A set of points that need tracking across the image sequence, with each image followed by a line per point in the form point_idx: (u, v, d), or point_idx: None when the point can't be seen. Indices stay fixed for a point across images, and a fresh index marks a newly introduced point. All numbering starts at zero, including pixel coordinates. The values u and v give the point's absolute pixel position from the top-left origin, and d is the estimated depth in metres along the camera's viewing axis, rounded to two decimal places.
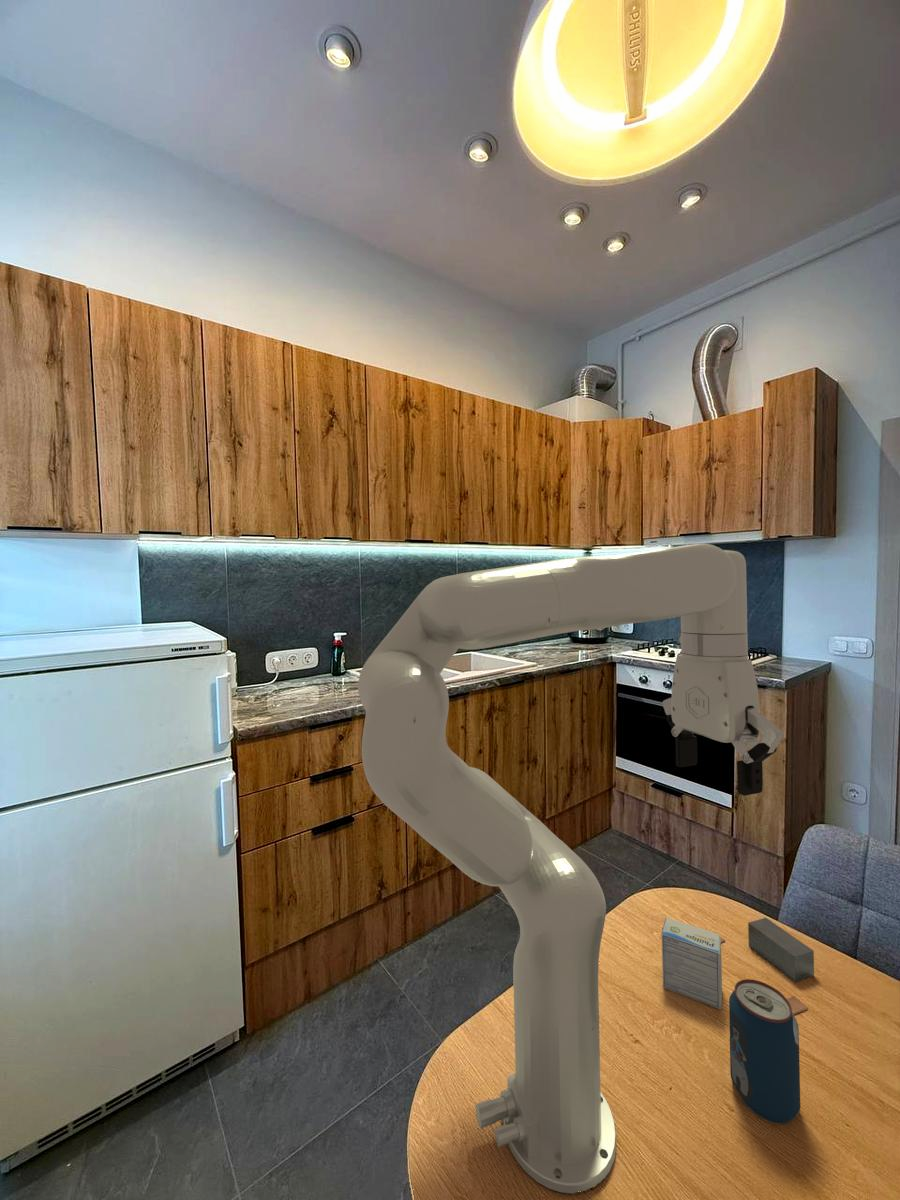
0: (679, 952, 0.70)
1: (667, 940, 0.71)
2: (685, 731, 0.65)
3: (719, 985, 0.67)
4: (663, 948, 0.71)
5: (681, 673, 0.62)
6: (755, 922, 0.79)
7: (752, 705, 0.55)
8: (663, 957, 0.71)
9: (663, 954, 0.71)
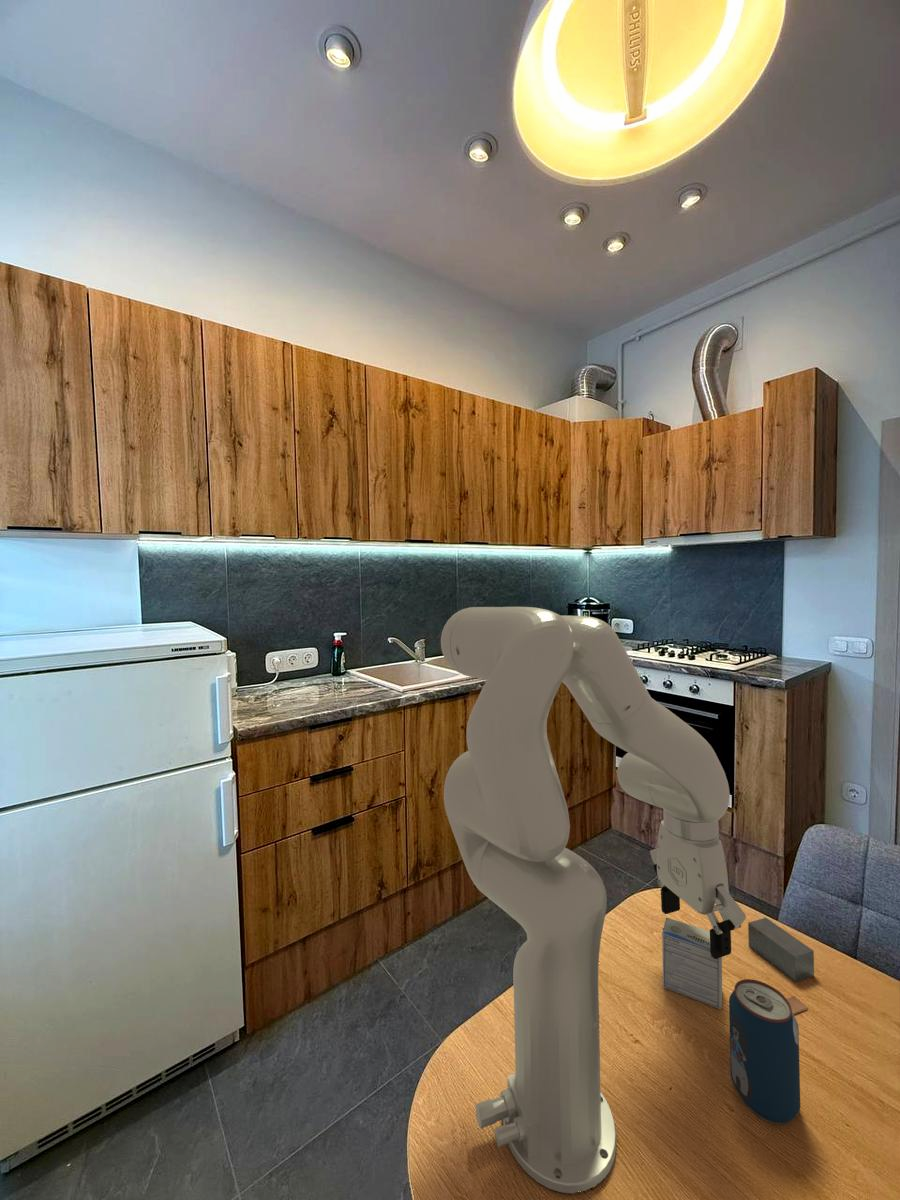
0: (680, 952, 0.70)
1: (668, 940, 0.71)
2: None
3: (719, 985, 0.67)
4: (664, 948, 0.71)
5: (664, 840, 0.73)
6: (755, 922, 0.79)
7: (721, 883, 0.67)
8: (663, 957, 0.71)
9: (663, 954, 0.71)
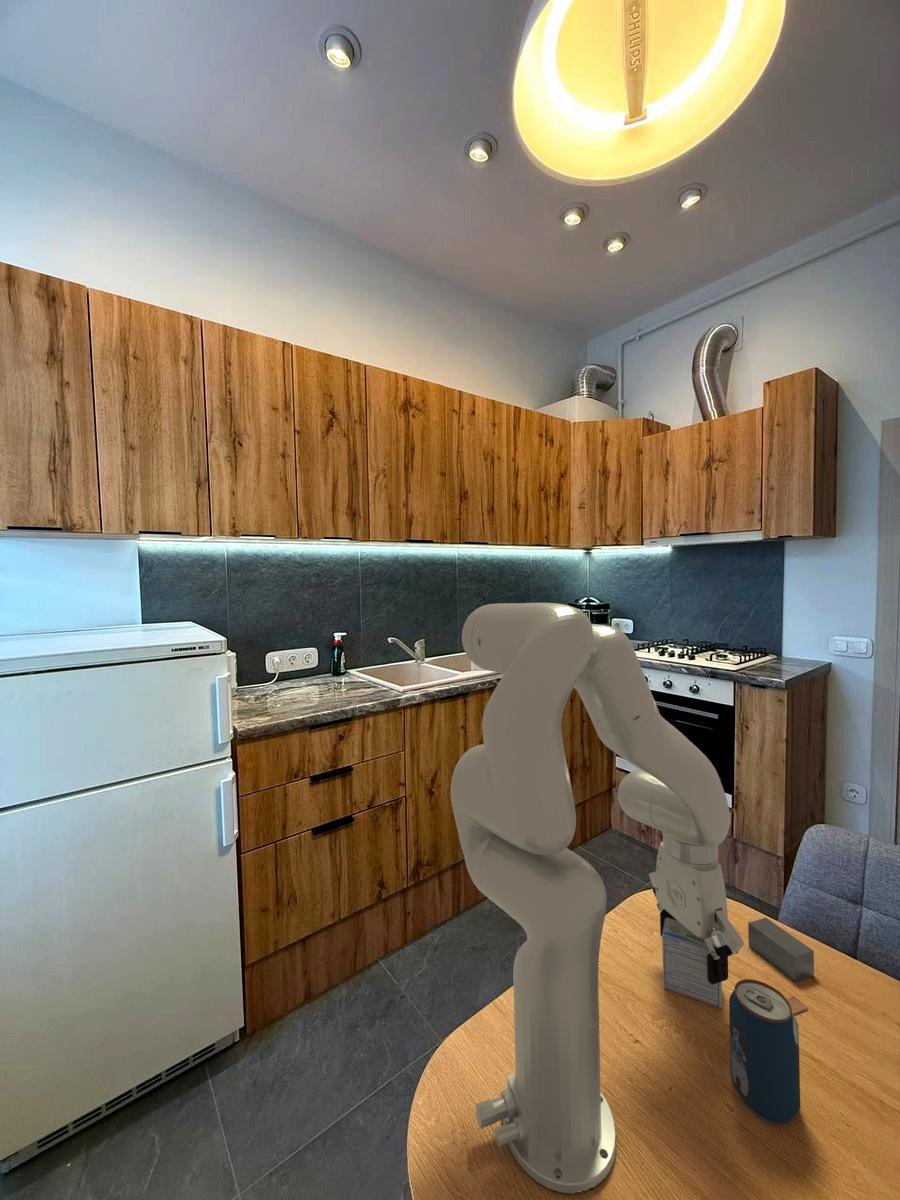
0: (680, 952, 0.70)
1: (668, 940, 0.71)
2: None
3: (720, 984, 0.67)
4: (663, 948, 0.71)
5: (663, 862, 0.73)
6: (755, 922, 0.79)
7: (720, 907, 0.66)
8: (663, 957, 0.71)
9: (663, 954, 0.71)
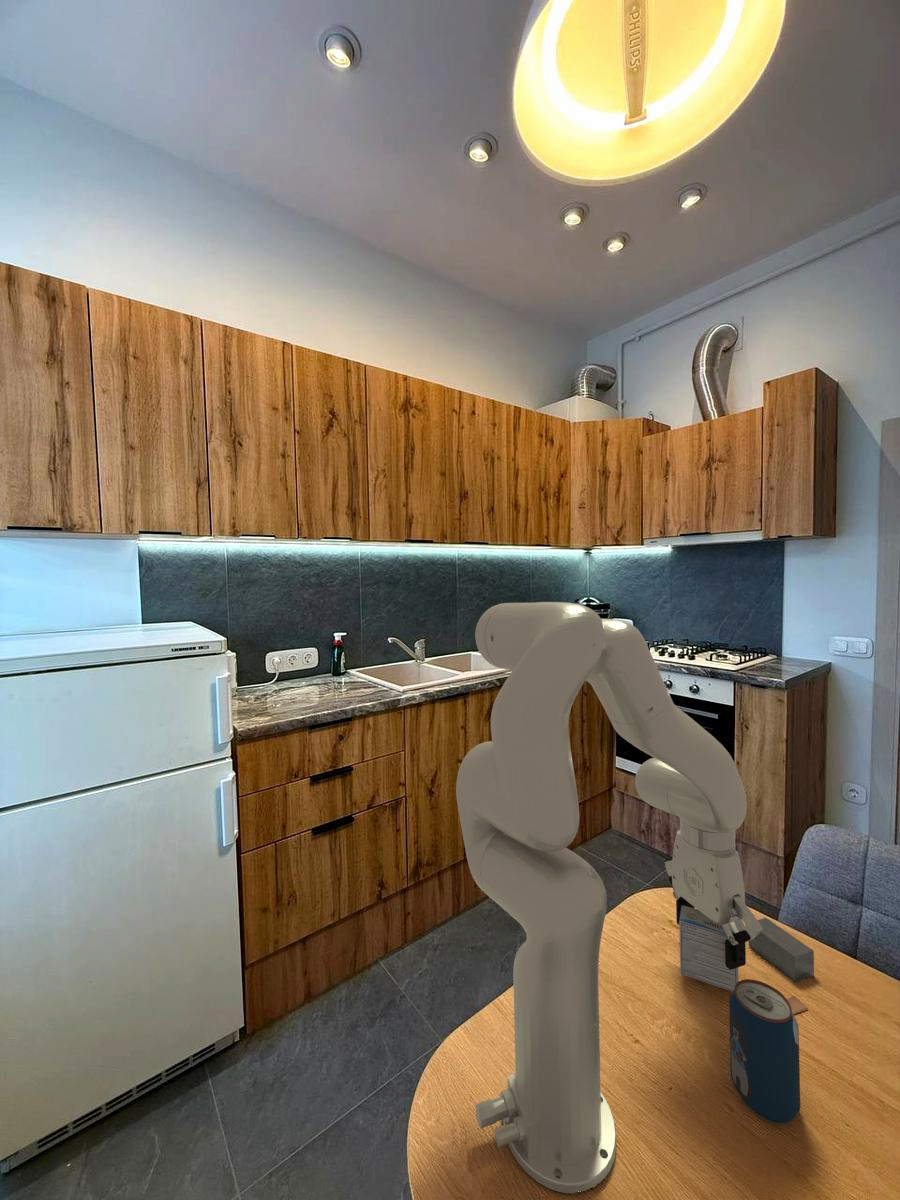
0: (697, 938, 0.71)
1: (685, 927, 0.72)
2: None
3: (737, 969, 0.68)
4: (681, 935, 0.72)
5: (680, 850, 0.74)
6: None
7: (738, 893, 0.67)
8: (681, 944, 0.72)
9: (681, 941, 0.72)
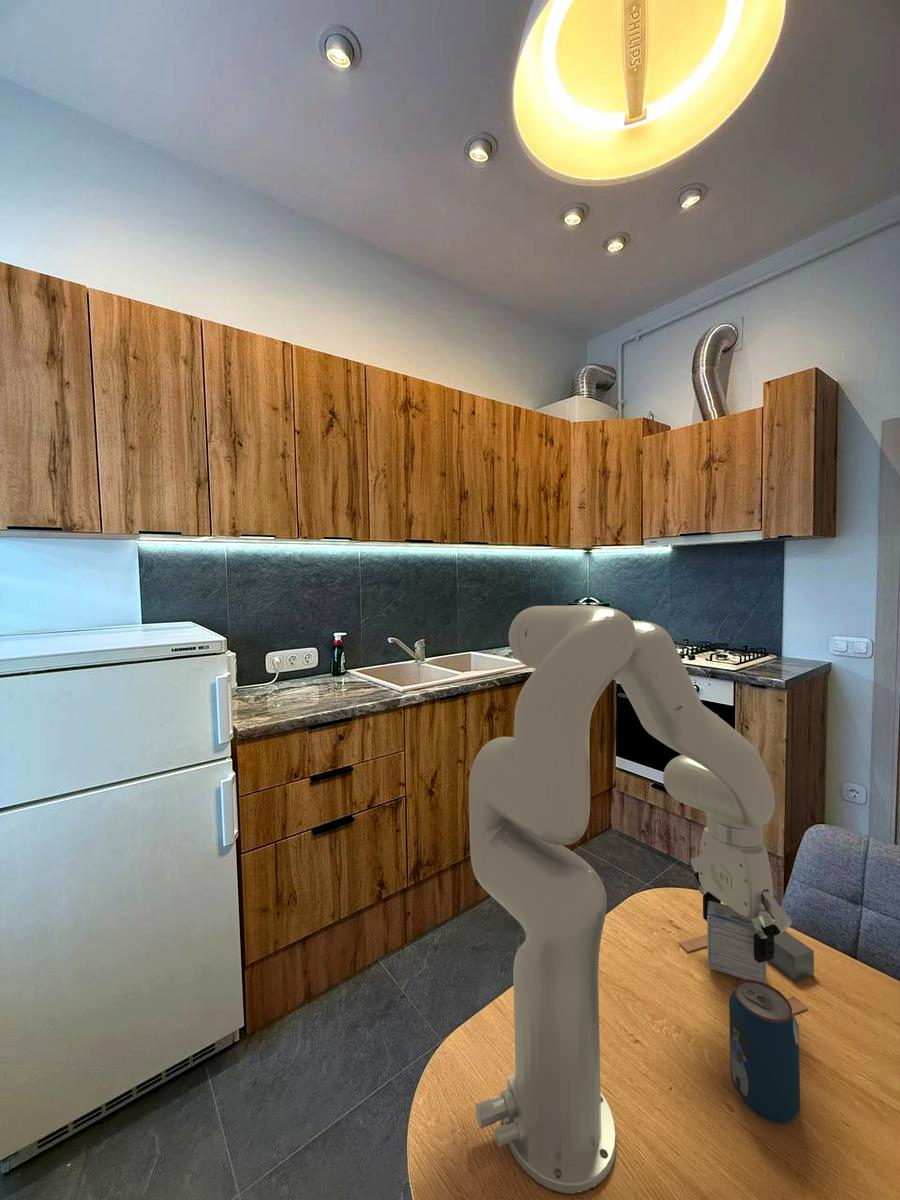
0: (725, 933, 0.72)
1: (713, 922, 0.73)
2: None
3: (765, 963, 0.70)
4: (709, 929, 0.73)
5: (707, 847, 0.75)
6: None
7: (767, 888, 0.69)
8: (709, 938, 0.74)
9: (709, 935, 0.73)
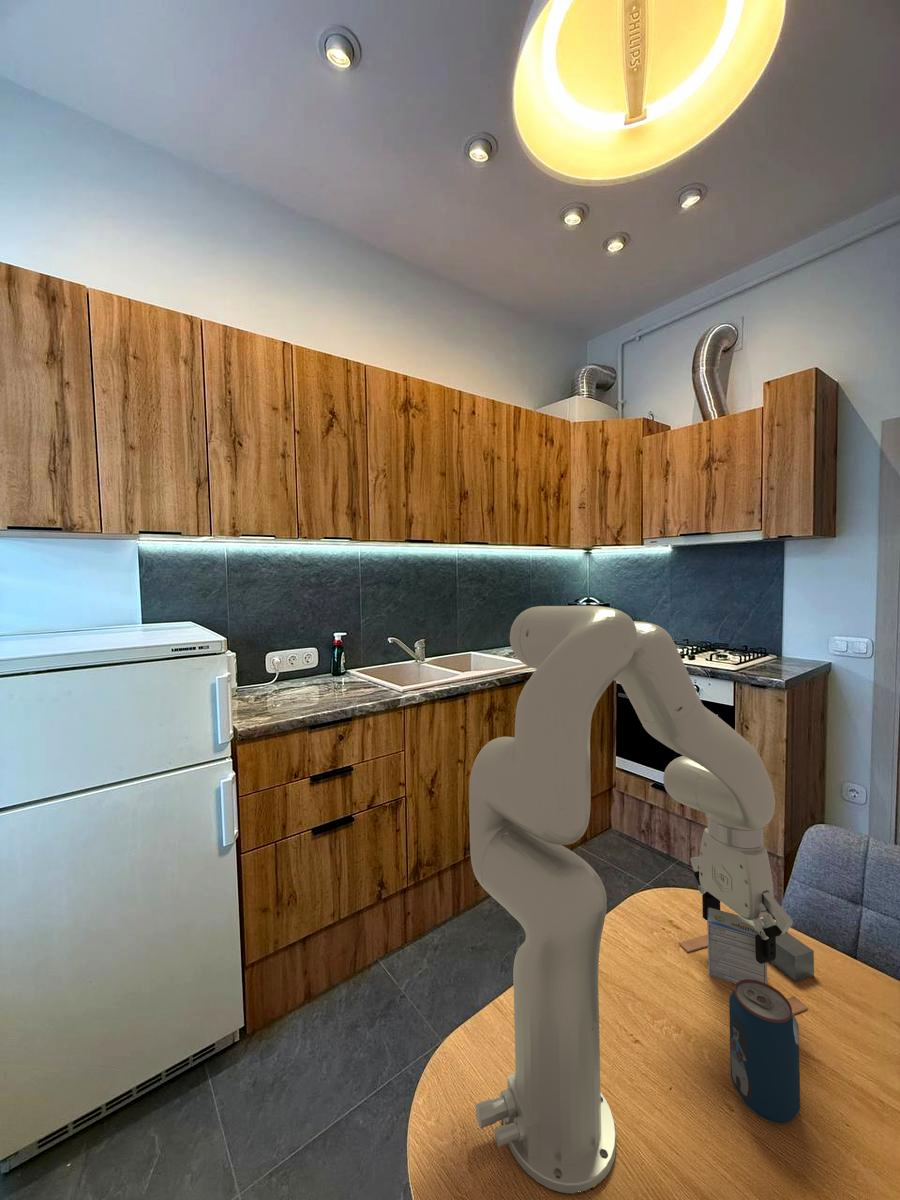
0: (726, 940, 0.72)
1: (713, 929, 0.73)
2: None
3: (766, 970, 0.70)
4: (709, 937, 0.73)
5: (708, 848, 0.75)
6: None
7: (767, 890, 0.69)
8: (709, 946, 0.73)
9: (709, 943, 0.73)
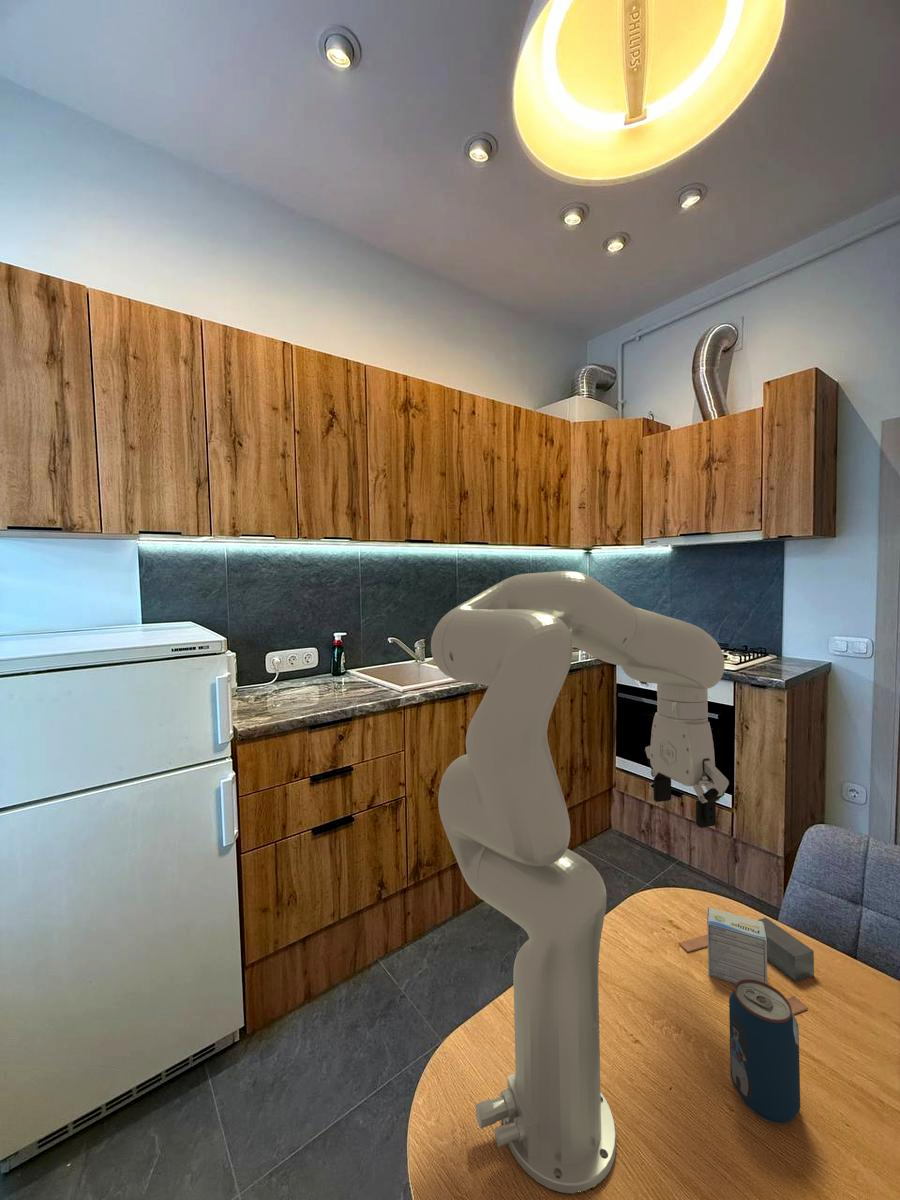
0: (726, 940, 0.72)
1: (713, 929, 0.73)
2: None
3: (766, 970, 0.70)
4: (709, 937, 0.73)
5: (657, 728, 0.79)
6: None
7: (708, 758, 0.72)
8: (709, 945, 0.73)
9: (709, 943, 0.73)
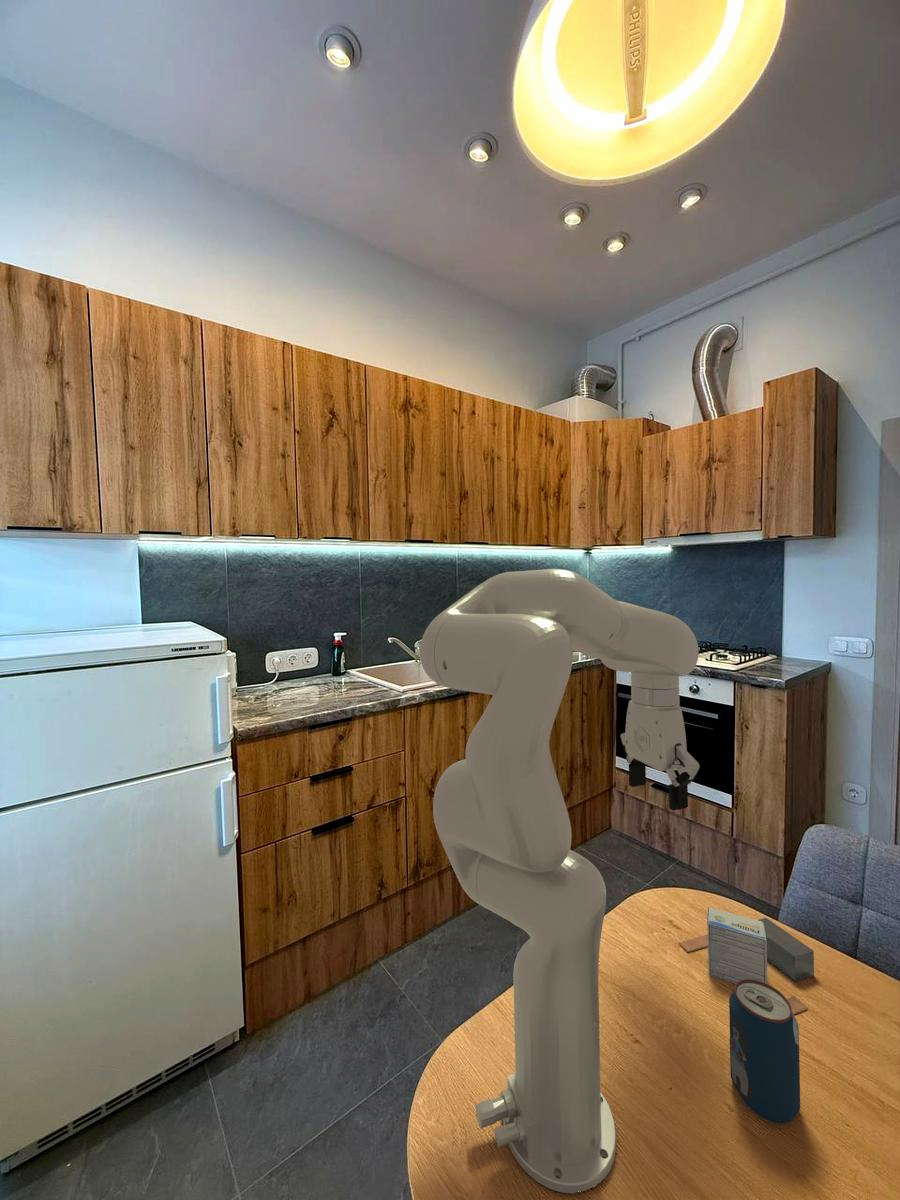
0: (725, 940, 0.72)
1: (713, 929, 0.73)
2: None
3: (766, 970, 0.70)
4: (709, 937, 0.73)
5: (631, 715, 0.81)
6: None
7: (680, 743, 0.74)
8: (709, 945, 0.73)
9: (709, 943, 0.73)
